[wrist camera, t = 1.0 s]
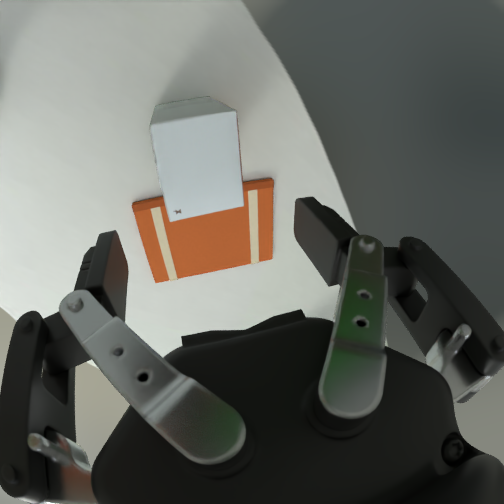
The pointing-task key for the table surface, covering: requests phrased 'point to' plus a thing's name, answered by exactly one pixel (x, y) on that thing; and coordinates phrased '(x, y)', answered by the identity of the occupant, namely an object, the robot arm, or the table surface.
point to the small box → (197, 157)
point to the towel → (207, 235)
